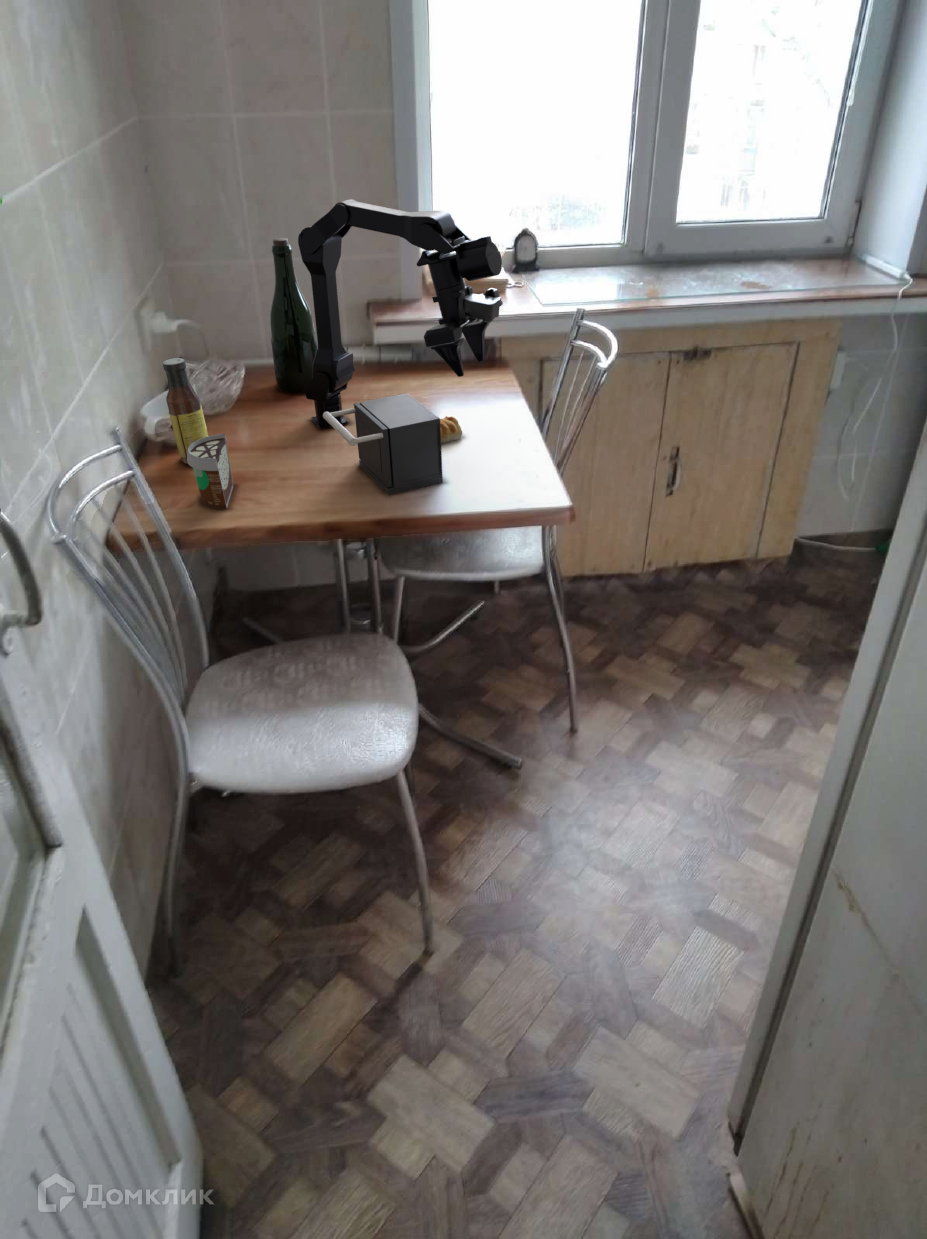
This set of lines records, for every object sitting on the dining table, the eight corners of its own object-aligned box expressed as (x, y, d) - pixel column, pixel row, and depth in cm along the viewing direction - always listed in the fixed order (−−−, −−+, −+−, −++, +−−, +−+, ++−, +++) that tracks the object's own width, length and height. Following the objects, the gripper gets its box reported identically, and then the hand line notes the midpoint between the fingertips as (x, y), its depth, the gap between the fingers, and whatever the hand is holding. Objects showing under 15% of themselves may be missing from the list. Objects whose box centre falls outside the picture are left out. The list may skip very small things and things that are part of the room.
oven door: (355, 494, 161) (349, 436, 155) (328, 464, 172) (321, 409, 166) (392, 486, 164) (387, 428, 158) (363, 457, 175) (358, 402, 169)
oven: (388, 495, 164) (383, 429, 157) (359, 465, 176) (353, 403, 169) (442, 482, 168) (440, 418, 161) (411, 454, 179) (407, 393, 172)
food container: (201, 484, 170) (191, 434, 165) (234, 482, 170) (225, 432, 165) (190, 514, 160) (179, 461, 154) (225, 512, 160) (215, 459, 155)
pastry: (428, 449, 181) (427, 431, 179) (409, 440, 185) (407, 422, 183) (465, 437, 186) (464, 419, 184) (445, 428, 190) (444, 411, 188)
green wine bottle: (270, 393, 211) (247, 243, 193) (287, 378, 219) (267, 233, 201) (312, 395, 209) (293, 243, 191) (328, 380, 217) (311, 233, 199)
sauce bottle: (219, 455, 181) (200, 357, 170) (201, 468, 176) (181, 367, 165) (191, 452, 183) (170, 354, 172) (173, 464, 178) (151, 364, 167)
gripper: (466, 290, 156) (488, 378, 163) (508, 265, 170) (527, 348, 177) (412, 301, 161) (436, 386, 168) (457, 277, 175) (477, 356, 182)
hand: (471, 368), depth 174 cm, fingers open, 9 cm apart
